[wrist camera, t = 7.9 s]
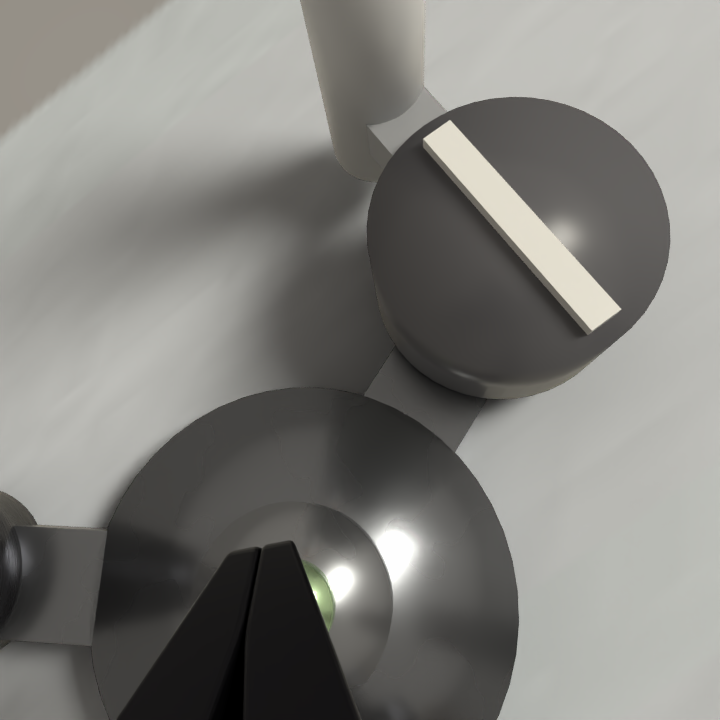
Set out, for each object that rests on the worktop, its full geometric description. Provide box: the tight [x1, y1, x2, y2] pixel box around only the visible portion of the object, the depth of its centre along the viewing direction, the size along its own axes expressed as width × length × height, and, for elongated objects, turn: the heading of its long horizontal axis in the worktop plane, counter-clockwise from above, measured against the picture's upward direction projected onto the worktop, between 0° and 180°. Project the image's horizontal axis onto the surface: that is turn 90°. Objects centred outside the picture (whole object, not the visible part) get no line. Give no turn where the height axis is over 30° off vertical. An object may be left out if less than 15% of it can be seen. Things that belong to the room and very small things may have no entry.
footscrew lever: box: [300, 0, 670, 399], centre depth 11 cm, size 9×6×11 cm, turn 36°
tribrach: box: [0, 346, 519, 720], centre depth 14 cm, size 18×20×3 cm
